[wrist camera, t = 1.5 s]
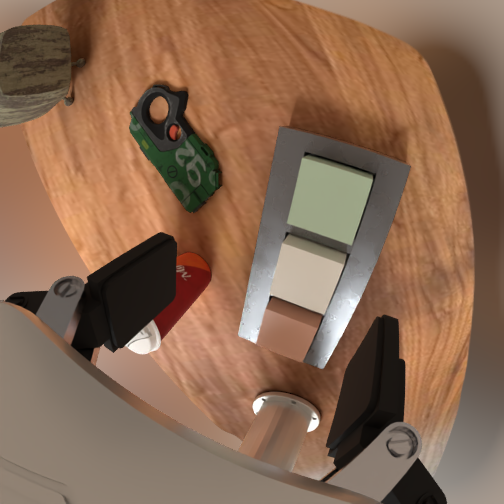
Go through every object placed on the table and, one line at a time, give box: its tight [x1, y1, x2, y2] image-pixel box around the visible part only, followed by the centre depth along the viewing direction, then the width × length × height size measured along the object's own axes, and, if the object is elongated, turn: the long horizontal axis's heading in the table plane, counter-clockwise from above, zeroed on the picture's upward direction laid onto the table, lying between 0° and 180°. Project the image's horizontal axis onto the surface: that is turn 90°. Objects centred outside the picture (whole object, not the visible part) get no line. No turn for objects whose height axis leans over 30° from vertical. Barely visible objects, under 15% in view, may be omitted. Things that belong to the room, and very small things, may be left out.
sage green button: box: [287, 155, 373, 246], centre depth 24 cm, size 6×6×3 cm
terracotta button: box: [256, 297, 322, 363], centre depth 32 cm, size 6×6×3 cm
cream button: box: [269, 233, 347, 314], centre depth 28 cm, size 6×6×3 cm
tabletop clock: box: [0, 25, 85, 127], centre depth 22 cm, size 14×9×25 cm, turn 10°
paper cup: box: [125, 252, 211, 354], centre depth 33 cm, size 8×8×14 cm
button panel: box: [238, 126, 411, 369], centre depth 29 cm, size 26×12×3 cm, turn 169°
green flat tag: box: [129, 85, 222, 213], centre depth 31 cm, size 16×2×10 cm
